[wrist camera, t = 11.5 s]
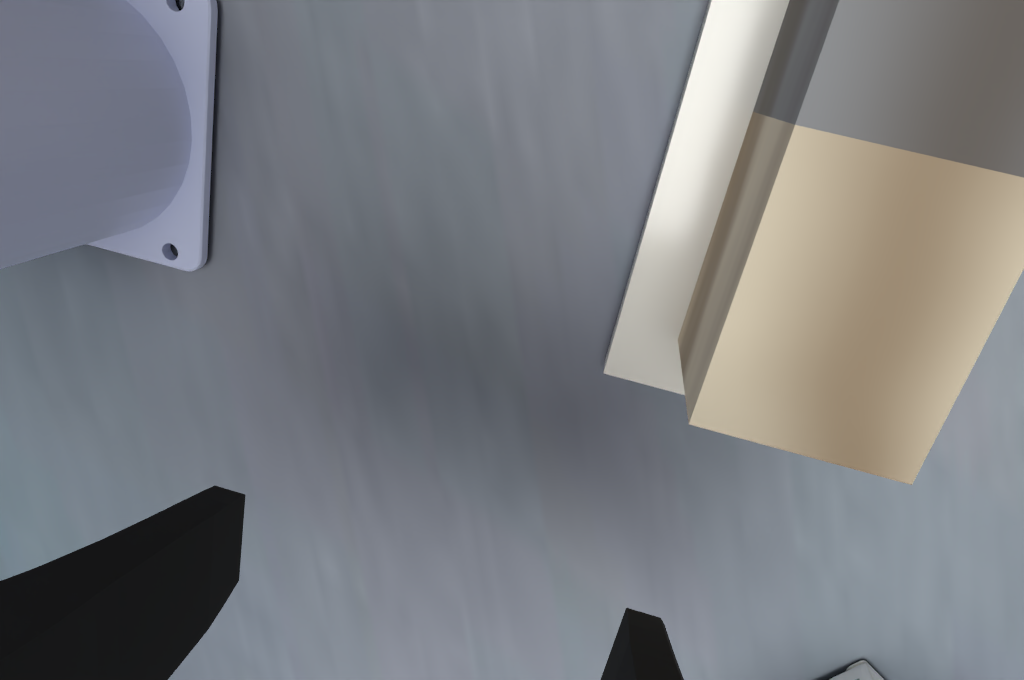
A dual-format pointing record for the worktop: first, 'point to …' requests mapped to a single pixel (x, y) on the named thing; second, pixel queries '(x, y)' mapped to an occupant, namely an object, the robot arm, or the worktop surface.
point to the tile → (692, 187)
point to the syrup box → (859, 672)
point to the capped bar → (864, 232)
